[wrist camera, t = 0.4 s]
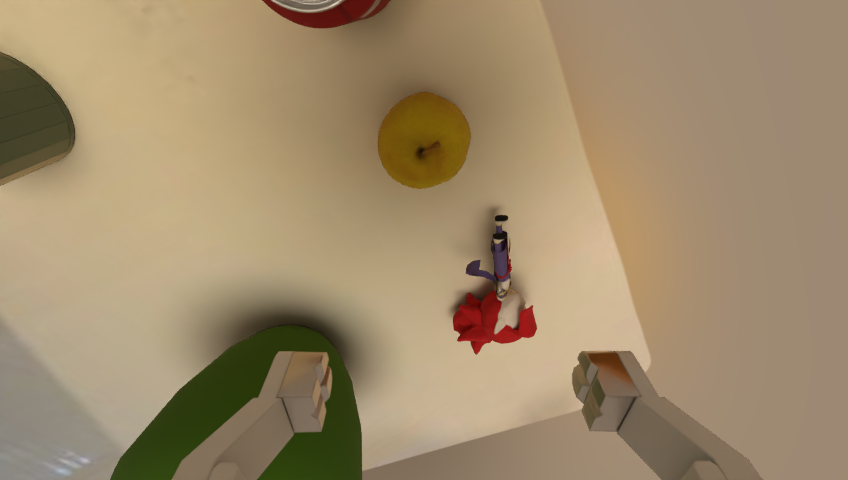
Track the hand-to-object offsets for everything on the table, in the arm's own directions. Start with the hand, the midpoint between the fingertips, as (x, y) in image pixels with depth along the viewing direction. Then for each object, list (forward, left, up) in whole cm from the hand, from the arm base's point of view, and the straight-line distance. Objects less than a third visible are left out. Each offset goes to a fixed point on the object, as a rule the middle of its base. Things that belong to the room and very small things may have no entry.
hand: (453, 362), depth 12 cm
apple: (-2, -1, -22) cm, 22 cm away
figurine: (+13, +6, -22) cm, 26 cm away
